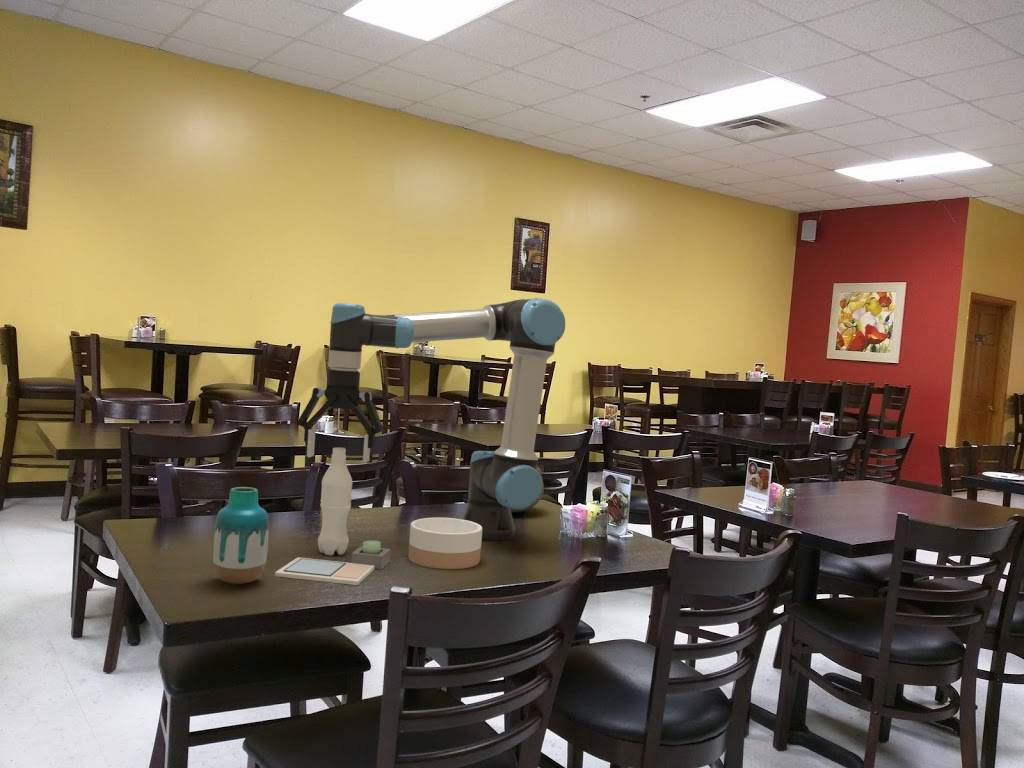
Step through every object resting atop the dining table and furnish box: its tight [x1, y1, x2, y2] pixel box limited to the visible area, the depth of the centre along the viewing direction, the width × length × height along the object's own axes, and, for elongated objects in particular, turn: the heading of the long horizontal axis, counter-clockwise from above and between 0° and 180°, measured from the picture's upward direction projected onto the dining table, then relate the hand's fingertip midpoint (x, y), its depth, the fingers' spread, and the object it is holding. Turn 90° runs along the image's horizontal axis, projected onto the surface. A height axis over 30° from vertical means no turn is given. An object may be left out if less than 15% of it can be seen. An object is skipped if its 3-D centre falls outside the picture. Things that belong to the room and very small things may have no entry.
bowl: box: [408, 517, 482, 570], centre depth 200 cm, size 17×17×8 cm
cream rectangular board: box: [274, 557, 376, 586], centre depth 181 cm, size 18×13×1 cm
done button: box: [362, 539, 382, 555], centre depth 190 cm, size 4×4×4 cm
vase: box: [212, 486, 270, 585], centre depth 170 cm, size 11×11×19 cm
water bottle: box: [317, 447, 353, 557], centre depth 197 cm, size 7×7×25 cm
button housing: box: [350, 545, 391, 571], centre depth 190 cm, size 7×7×3 cm
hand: (338, 459), depth 197 cm, fingers open, 13 cm apart
